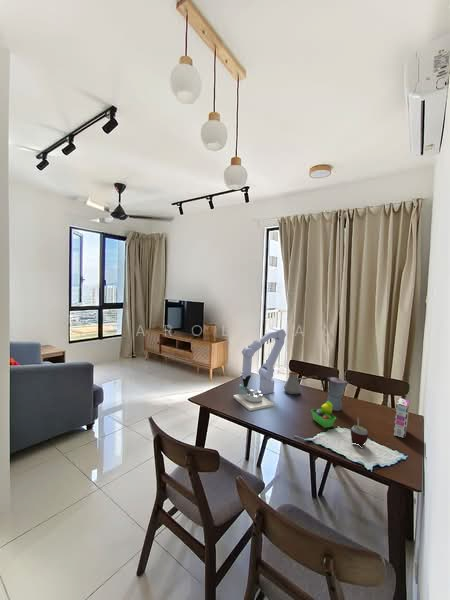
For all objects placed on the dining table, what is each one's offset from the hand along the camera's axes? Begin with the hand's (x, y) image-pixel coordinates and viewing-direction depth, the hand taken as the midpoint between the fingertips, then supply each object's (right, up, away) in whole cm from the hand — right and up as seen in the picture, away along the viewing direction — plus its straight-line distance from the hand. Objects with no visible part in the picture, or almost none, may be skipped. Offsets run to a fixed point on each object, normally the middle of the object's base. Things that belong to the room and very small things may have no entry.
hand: (245, 386), depth 172 cm
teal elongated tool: (+2, -3, -9) cm, 9 cm away
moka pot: (+51, -9, -14) cm, 54 cm away
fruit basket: (+39, -9, -33) cm, 51 cm away
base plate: (+4, -6, -12) cm, 13 cm away
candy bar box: (+75, -11, -39) cm, 85 cm away
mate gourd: (+48, -10, -52) cm, 71 cm away
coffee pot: (+36, -7, +4) cm, 37 cm away
